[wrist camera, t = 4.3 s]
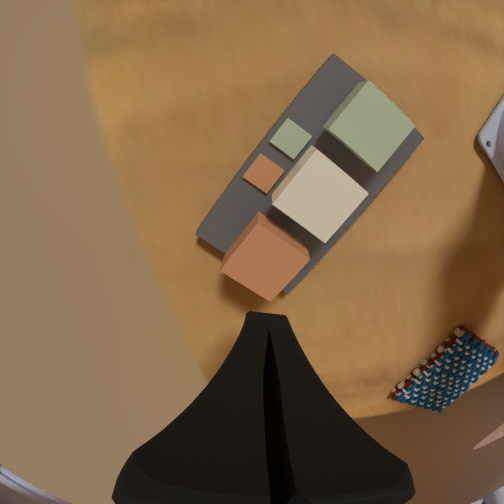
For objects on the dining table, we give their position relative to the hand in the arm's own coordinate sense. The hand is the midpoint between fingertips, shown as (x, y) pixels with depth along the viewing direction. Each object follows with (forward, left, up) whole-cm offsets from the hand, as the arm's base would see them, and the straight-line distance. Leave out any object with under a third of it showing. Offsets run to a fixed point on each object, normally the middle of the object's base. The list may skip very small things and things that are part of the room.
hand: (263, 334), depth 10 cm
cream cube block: (0, -4, -8) cm, 9 cm away
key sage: (0, -9, -9) cm, 12 cm away
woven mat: (-25, +1, -10) cm, 27 cm away
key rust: (0, 0, -8) cm, 8 cm away
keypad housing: (0, -4, -9) cm, 10 cm away
